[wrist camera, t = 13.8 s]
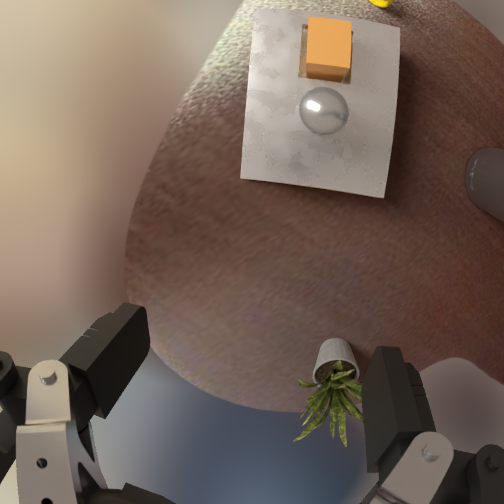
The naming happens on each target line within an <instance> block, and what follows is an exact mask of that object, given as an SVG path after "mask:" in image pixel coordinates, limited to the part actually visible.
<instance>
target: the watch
mask: <svg viewBox="0 0 504 504" xmlns="http://www.w3.org/2000/svg"><path fill="white" fill-rule="evenodd" d="M369 1H370V2H371V3H373V5H376V6H378V7H382V8H384V7H388V6H389V5H390V4H391V3H392V2H393V1H394V0H386V1H384V0H369Z"/></svg>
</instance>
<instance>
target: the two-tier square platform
mask: <svg viewBox="0 0 504 504" xmlns="http://www.w3.org/2000/svg"><path fill="white" fill-rule="evenodd" d="M308 16H311V17H321V18H330V19H337V20H344V21H351V35H352V39H351V57H350V69H349V70H348V72H347V73H346V75H345V76H344V78H343V79H342V81H341V82H340V83H338V82H331V81H324V80H317V79H308V78H307V73H306V56H307V37H308V33H305V32H302V31H303V28H305V29H308ZM399 57H400V28H398V27H394V26H390V25H386V24H381V23H377V22H372V21H367V20H362V19H357V18H352V17H346V16H340V15H333V14H325V13H317V12H308V11H297V10H282V9H255V13H254V23H253V33H252V44H251V55H250V66H249V77H248V89H247V101H246V113H245V125H244V138H243V151H242V164H241V177H240V178H242V179H251V180H261V181H269V182H278V183H286V184H293V185H301V186H308V187H315V188H322V189H329V190H336V191H342V192H348V193H354V194H360V195H366V196H372V197H377V198H384V194H385V188H386V182H387V176H388V170H389V163H390V156H391V149H392V141H393V133H394V125H395V115H396V104H397V92H398V78H399Z"/></svg>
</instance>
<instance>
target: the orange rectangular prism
mask: <svg viewBox="0 0 504 504" xmlns="http://www.w3.org/2000/svg"><path fill="white" fill-rule="evenodd" d="M350 57H351V21H344V20H337V19H330V18H321V17H311V16H308V37H307V56H306V73H307V78H308V79H317V80H324V81H331V82H338V83H340V82H341V81H342V79H343V78H344V76H345V75H346V73H347V72H348V70H349V69H350Z"/></svg>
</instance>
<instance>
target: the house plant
mask: <svg viewBox="0 0 504 504" xmlns="http://www.w3.org/2000/svg"><path fill="white" fill-rule="evenodd" d="M297 378H298V377H297ZM358 378H359V368H358V366H357V363H356V360H355V358H354V355H353V353H352V350H351V348H350V345H349V343H348V342H347V341H346V340H344V339H341V338H332V339H328V340H326V341H325V342H323V344H322V345H321V347H320V350H319V354H318V358H317V361H316V365H315V369H314V372H313V380H314V382H315V383H307V382H302V381H300V380H299V379H298V382H299V385H301V386H302V387H314V386H318V387H320V388H319V389H318V390H317V391H316V392H314V393H313V394H312V395H311V396H310V397H308V400H307V401H306V402H311V403H310V404H309V405H308V406H307V407H305V408H307V410H306V411H305V412H304V413H303V414H302V415H301V417H302V416H303V415H305V414H306V413H307V412H308V411H309V410H312V412H311V413H310V415H309V416H308V418H307V419H306V421H305V422H304V424H305V423H306V422H307V421H308V420H309V419H310V418H311V417H312V416H313V414H314V413H315V412H316V411H318V412H317V413H316V415H315V417H314V418H313V420H312V421H311V423H310V424H309V425H308V426H307V428H306V429H305V430H304V431H303V433H302V434H301V435H300V436H299V437H297V438H296V439H295V440H294V441H297V440H299V439H301V438H303V437H305V436H306V435H308V434H309V433H310V432H311V431H312V430H313V429H315V428H317V427H319V426H320V425H321V424H322V423H323V422H324V421H325V419H326V417H327V415H328V412H329V410H330V409H331V421H330V430H331V433H332V437H333V438H334V424H335V423H336V422H337V417H338V422H339V434H340V437H341V439H342V441H343V443H344V445H345V446H347V444H346V443H347V441H346V428H345V427H346V424H345V418H346V412H348V413H349V412H351V413H352V414H353V415H354V416H353V417H355V418H357V419H358V420H360V421H361V422H363V423H364V419H363V414H362V413H361V412H360V411H359V410H358V408H357V407H356V406H355V404H354V403H353V402H352V400H351V399H350V398H349V396H348V395H347V393H346V392H345V390H346V391H348V392H349V393H350V394H351V395H352V396H354V397H355V398H356V399H358V400H360V401H361V402H362V399H361V397H360V396H358V395H356V394H355V393H357V394H360V395H361V387H362V383H360V382H358V381H357V379H358ZM348 388H349V389H350V390H351V391H350V390H349V389H348ZM344 389H345V390H344ZM352 391H353V392H354V393H353V392H352ZM345 395H346V396H345ZM329 396H330V403H329V406H328V408H327V411H326V413H325V415H324V417H323V418H322V419H321V416H322V414H323V411H324V409H325V407H326V404H327V401H328V399H329ZM346 397H347V398H348V400H349V401H350V403H351V404H352V405H353V406H352V405H351V404H350V403H349V402H348V400H347V398H346ZM349 414H350V413H349ZM352 414H350V415H352ZM301 417H300V418H301ZM300 418H299V419H300ZM320 419H321V421H320ZM319 421H320V422H319ZM318 422H319V423H318ZM304 424H303V425H304Z"/></svg>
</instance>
